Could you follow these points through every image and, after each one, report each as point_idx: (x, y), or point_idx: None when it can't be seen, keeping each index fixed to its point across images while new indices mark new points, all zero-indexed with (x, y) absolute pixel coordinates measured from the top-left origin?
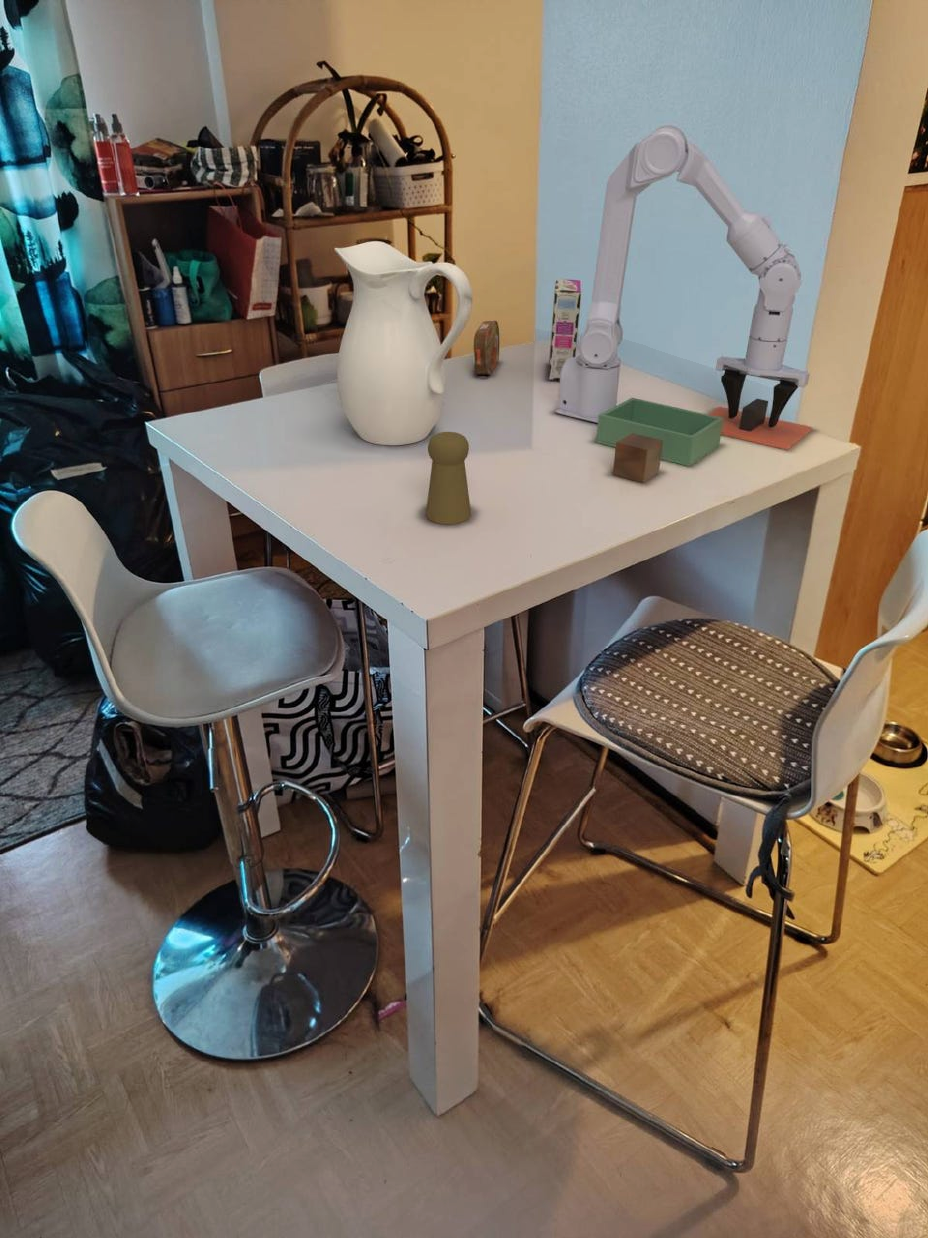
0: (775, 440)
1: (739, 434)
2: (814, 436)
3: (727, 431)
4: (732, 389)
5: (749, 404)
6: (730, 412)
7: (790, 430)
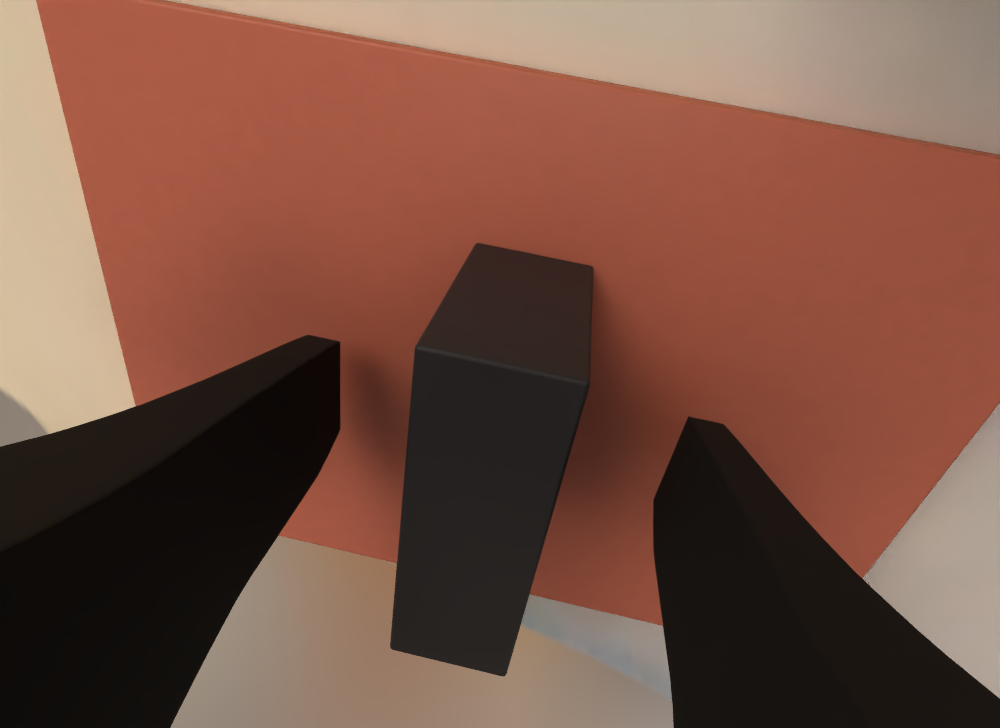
0: (200, 104)
1: (560, 97)
2: (109, 408)
3: (702, 137)
4: (863, 689)
5: (532, 516)
6: (728, 446)
7: None
